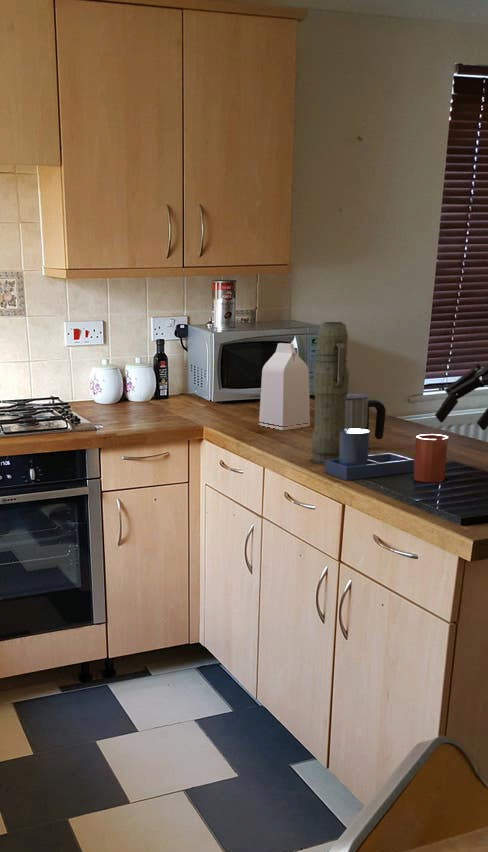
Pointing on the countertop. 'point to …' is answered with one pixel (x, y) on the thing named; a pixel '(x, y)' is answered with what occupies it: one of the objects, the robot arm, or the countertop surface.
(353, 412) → the milk frother
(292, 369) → the milk
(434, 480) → the terracotta cup
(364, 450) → the slate blue mug
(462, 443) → the countertop surface
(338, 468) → the sorter
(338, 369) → the thermos
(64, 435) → the countertop surface
